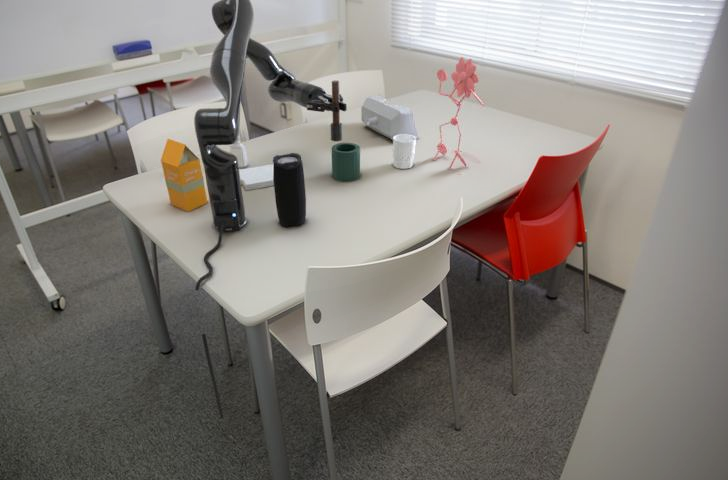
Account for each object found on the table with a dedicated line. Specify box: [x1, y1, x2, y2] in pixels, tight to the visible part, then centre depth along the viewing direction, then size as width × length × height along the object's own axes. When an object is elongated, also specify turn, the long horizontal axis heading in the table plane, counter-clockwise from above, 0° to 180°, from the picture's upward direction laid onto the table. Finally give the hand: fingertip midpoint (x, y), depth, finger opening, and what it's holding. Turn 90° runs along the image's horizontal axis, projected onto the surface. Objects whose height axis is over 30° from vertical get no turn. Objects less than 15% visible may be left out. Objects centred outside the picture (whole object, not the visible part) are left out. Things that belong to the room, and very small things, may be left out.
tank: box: [360, 94, 419, 141], centre depth 204 cm, size 25×16×12 cm, turn 29°
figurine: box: [433, 56, 486, 176], centre depth 173 cm, size 15×26×35 cm, turn 26°
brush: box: [330, 80, 343, 142], centre depth 157 cm, size 4×4×18 cm
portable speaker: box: [272, 152, 307, 228], centre depth 142 cm, size 9×9×20 cm
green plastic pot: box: [331, 142, 361, 182], centre depth 171 cm, size 9×9×10 cm
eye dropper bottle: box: [229, 136, 248, 169], centre depth 180 cm, size 4×6×12 cm
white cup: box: [392, 134, 417, 170], centre depth 177 cm, size 8×8×10 cm
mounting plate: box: [239, 163, 274, 191], centre depth 172 cm, size 18×13×2 cm
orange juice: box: [160, 138, 208, 212], centre depth 153 cm, size 8×9×20 cm
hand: (341, 108), depth 154 cm, fingers closed on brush, 2 cm apart
